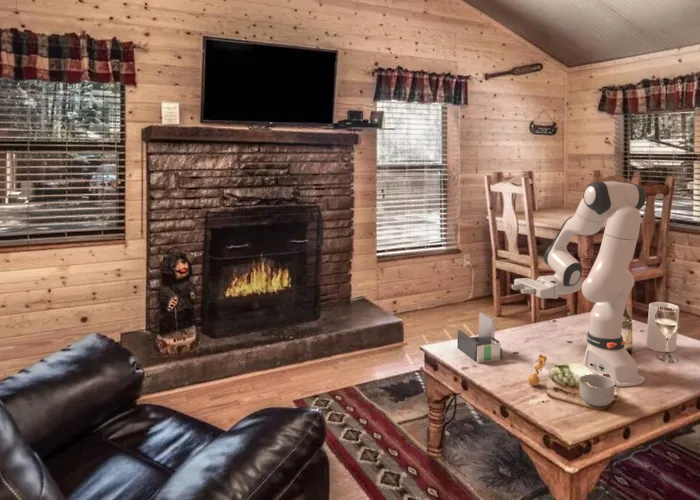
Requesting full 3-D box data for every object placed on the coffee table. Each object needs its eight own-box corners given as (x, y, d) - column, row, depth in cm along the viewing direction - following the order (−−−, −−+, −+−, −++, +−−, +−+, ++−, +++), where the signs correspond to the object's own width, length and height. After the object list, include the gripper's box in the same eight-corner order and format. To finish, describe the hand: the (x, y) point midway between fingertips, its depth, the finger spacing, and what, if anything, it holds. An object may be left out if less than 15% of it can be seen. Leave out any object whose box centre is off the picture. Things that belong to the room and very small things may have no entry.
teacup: (611, 413, 167) (612, 390, 166) (575, 405, 173) (576, 382, 172) (616, 395, 179) (618, 374, 177) (582, 388, 185) (583, 367, 183)
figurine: (526, 380, 193) (527, 349, 190) (543, 380, 192) (544, 350, 189) (529, 390, 185) (531, 358, 182) (547, 391, 184) (549, 359, 181)
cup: (650, 341, 227) (654, 300, 224) (679, 347, 219) (683, 305, 216) (641, 348, 220) (644, 306, 216) (670, 355, 212) (675, 311, 208)
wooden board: (499, 355, 211) (500, 322, 208) (496, 355, 211) (497, 322, 208) (481, 343, 225) (482, 312, 222) (478, 343, 224) (479, 312, 222)
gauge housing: (504, 359, 212) (505, 340, 210) (478, 363, 208) (478, 344, 207) (482, 344, 228) (482, 327, 227) (457, 347, 225) (457, 330, 224)
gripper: (531, 273, 232) (503, 276, 228) (561, 284, 212) (531, 287, 209) (530, 287, 233) (503, 290, 229) (560, 299, 213) (531, 303, 210)
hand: (516, 289), depth 219 cm, fingers open, 5 cm apart
